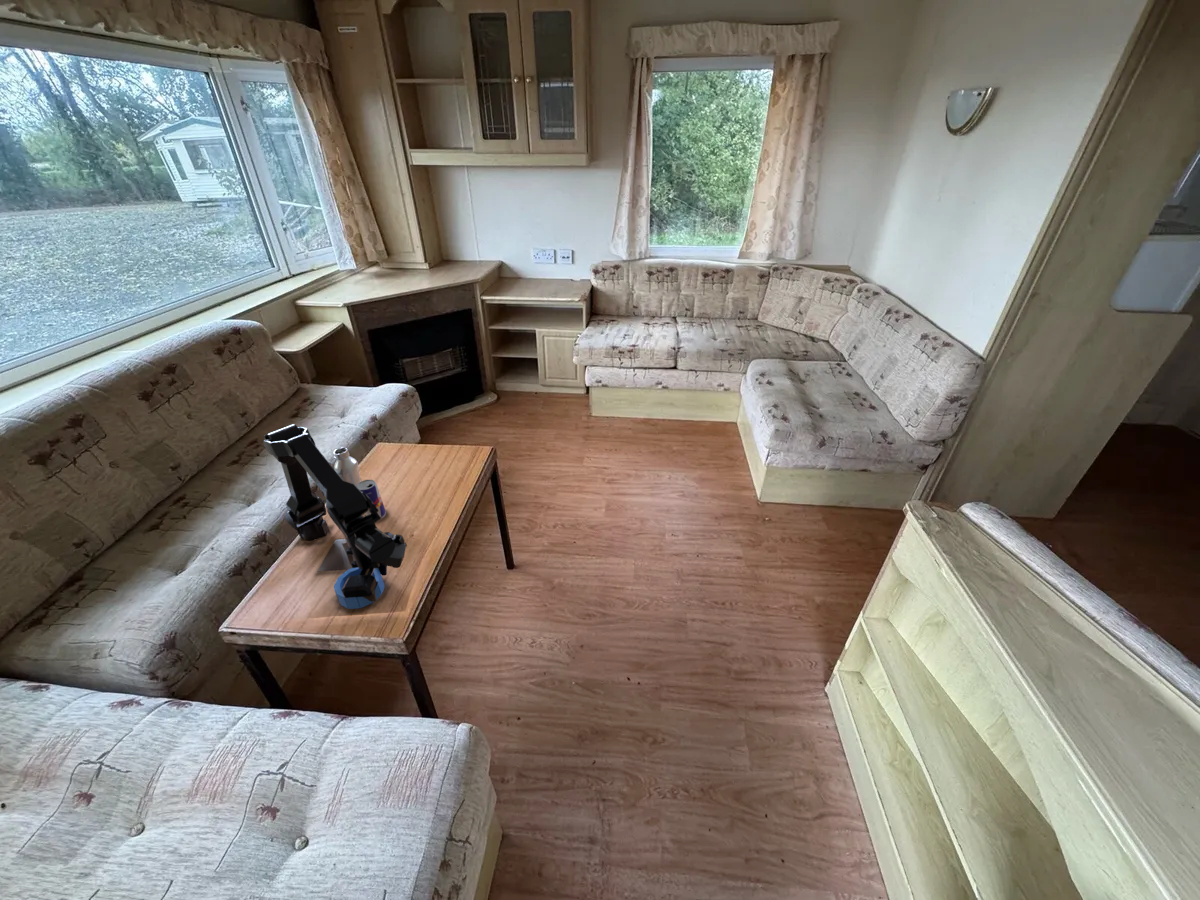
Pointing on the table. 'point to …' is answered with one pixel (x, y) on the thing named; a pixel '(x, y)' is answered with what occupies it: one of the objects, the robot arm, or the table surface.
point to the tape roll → (357, 601)
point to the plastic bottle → (347, 466)
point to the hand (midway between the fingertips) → (379, 587)
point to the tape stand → (337, 557)
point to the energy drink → (372, 495)
